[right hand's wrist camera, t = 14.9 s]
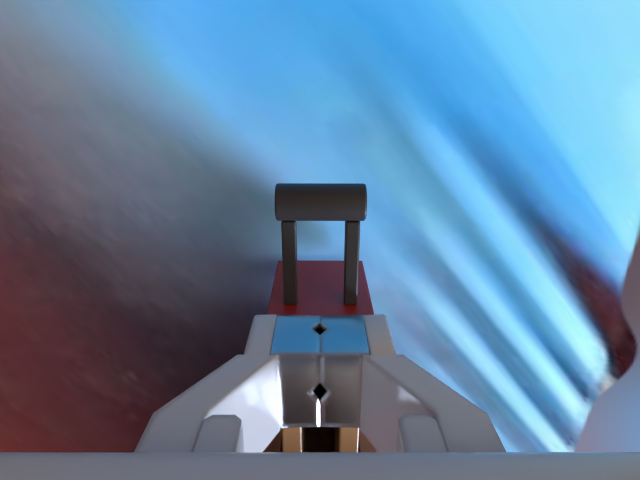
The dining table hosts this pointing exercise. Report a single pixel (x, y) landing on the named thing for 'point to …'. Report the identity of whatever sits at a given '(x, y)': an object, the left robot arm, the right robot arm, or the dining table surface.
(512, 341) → the dining table surface
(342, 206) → the drawer
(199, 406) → the right robot arm
